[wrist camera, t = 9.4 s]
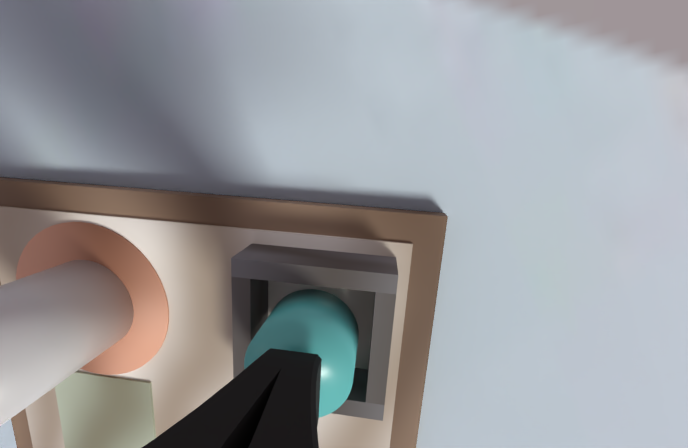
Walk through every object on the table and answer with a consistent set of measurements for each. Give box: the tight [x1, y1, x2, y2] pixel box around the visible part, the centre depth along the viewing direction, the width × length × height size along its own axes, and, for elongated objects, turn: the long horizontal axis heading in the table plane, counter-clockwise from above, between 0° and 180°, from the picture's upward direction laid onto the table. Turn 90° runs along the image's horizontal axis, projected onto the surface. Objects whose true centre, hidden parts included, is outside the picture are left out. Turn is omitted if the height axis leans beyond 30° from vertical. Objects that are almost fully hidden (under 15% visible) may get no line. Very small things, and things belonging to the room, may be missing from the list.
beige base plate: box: [0, 177, 448, 448], centre depth 12 cm, size 18×14×2 cm
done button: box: [244, 289, 359, 418], centre depth 10 cm, size 3×3×2 cm
